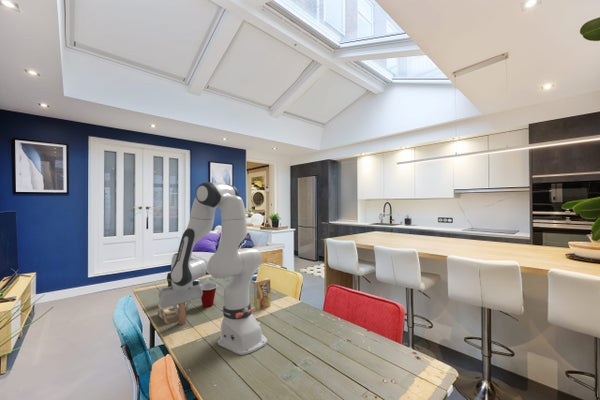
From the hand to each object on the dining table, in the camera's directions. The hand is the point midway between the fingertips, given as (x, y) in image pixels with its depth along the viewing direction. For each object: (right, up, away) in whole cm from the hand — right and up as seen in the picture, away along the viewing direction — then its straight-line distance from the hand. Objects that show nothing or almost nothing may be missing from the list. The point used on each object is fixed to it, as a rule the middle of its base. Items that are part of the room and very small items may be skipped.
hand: (181, 311), depth 128 cm
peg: (0, -6, 0) cm, 6 cm away
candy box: (+38, -6, +18) cm, 43 cm away
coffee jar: (-17, -7, +29) cm, 34 cm away
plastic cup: (+6, -6, +22) cm, 23 cm away
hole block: (-9, -6, +8) cm, 14 cm away
